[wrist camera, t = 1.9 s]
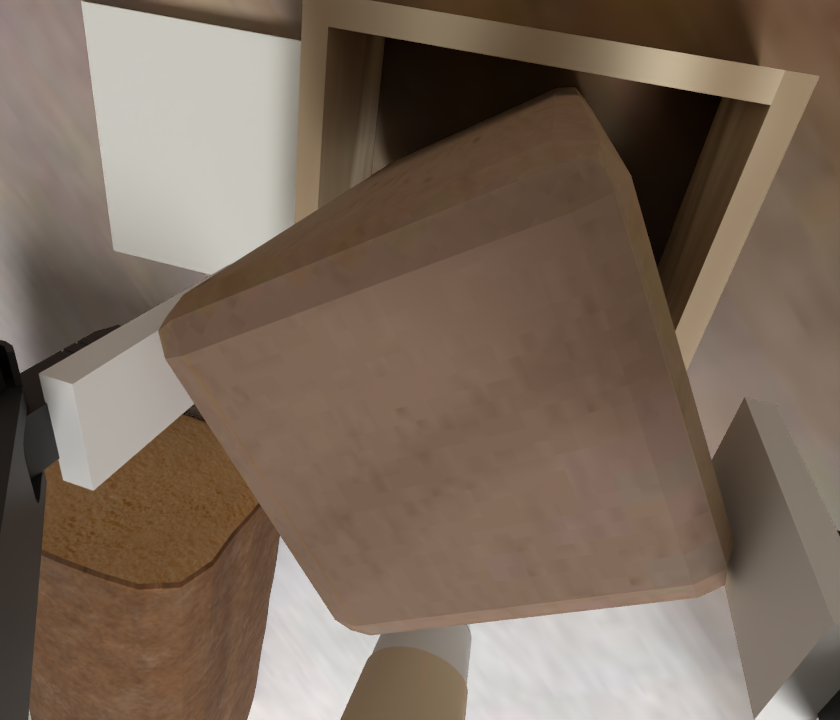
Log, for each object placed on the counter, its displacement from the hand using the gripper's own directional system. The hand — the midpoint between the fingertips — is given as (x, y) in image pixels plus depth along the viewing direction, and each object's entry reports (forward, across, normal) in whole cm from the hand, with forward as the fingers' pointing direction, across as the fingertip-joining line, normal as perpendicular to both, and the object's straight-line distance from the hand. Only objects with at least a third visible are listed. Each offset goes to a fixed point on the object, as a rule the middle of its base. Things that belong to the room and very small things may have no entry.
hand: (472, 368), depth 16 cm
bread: (+15, -20, -35) cm, 43 cm away
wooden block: (+15, -1, 0) cm, 15 cm away
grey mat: (+15, -18, 0) cm, 23 cm away
